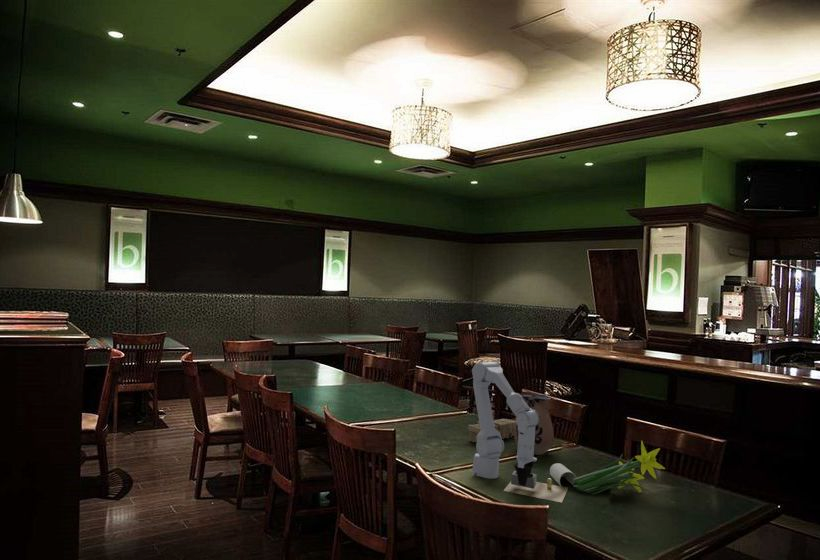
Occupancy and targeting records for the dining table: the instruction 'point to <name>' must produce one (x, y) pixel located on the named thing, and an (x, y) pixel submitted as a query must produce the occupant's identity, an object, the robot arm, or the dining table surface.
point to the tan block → (500, 425)
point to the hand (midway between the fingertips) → (523, 482)
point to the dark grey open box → (529, 483)
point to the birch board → (539, 491)
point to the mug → (562, 473)
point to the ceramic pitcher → (544, 427)
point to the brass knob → (549, 483)
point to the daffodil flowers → (619, 473)
